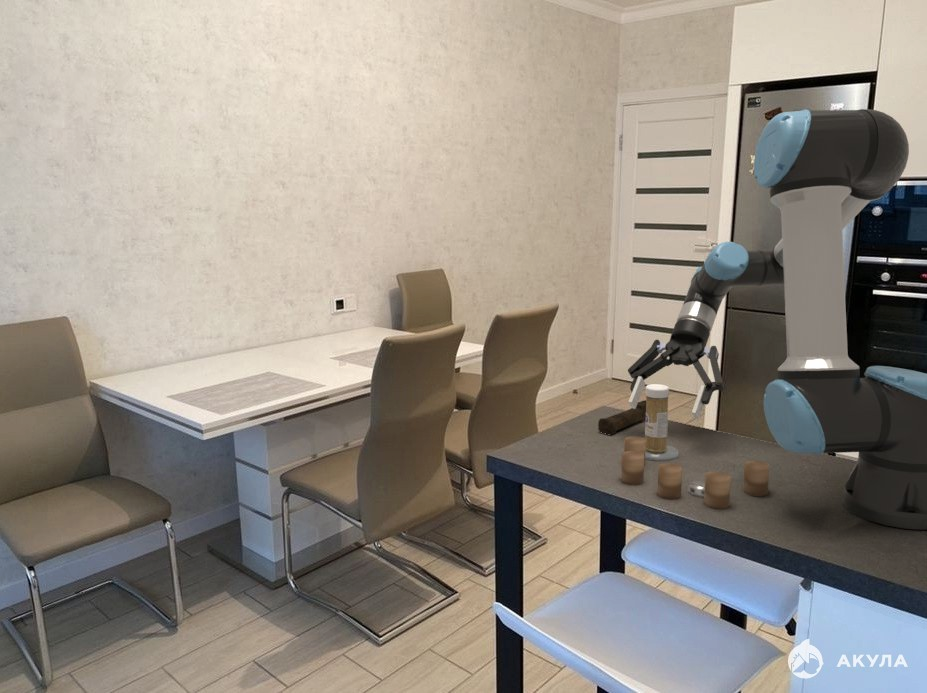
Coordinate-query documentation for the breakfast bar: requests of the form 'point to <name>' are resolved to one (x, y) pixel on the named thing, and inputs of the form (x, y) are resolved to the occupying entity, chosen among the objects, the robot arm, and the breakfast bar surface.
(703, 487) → the silver rounded piece
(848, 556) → the breakfast bar surface
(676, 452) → the coaster
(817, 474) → the breakfast bar surface
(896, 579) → the breakfast bar surface
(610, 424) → the dark brown elongated piece
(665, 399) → the sprinkles bottle
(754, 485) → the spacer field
